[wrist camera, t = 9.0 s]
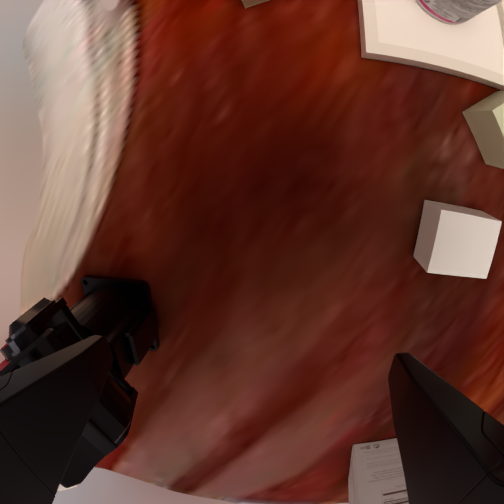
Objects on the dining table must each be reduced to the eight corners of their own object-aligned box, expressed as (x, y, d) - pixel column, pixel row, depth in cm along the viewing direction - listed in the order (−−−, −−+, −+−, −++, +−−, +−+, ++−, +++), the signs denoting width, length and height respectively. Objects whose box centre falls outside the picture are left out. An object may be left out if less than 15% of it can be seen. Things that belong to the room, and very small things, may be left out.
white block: (412, 255, 20) (427, 272, 17) (423, 199, 18) (441, 209, 16) (467, 261, 19) (486, 278, 17) (480, 210, 18) (501, 221, 15)
